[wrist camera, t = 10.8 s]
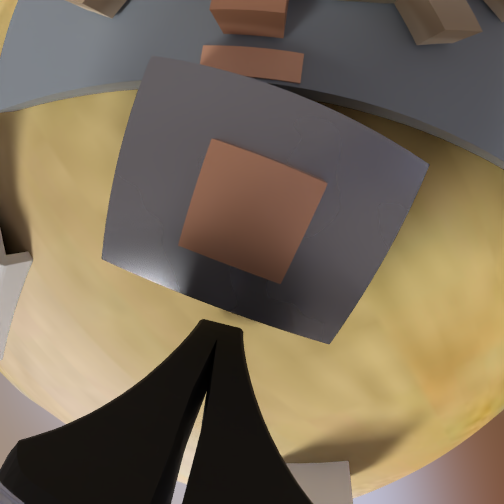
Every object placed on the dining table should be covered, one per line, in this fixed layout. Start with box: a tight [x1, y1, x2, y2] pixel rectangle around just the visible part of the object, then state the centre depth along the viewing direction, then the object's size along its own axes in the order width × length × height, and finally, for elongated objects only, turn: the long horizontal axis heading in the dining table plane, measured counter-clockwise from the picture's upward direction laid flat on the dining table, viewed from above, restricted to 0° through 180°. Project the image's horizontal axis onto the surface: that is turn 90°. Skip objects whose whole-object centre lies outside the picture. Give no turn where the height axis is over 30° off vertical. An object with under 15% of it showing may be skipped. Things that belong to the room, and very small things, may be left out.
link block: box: [102, 55, 429, 344], centre depth 6 cm, size 5×4×4 cm
